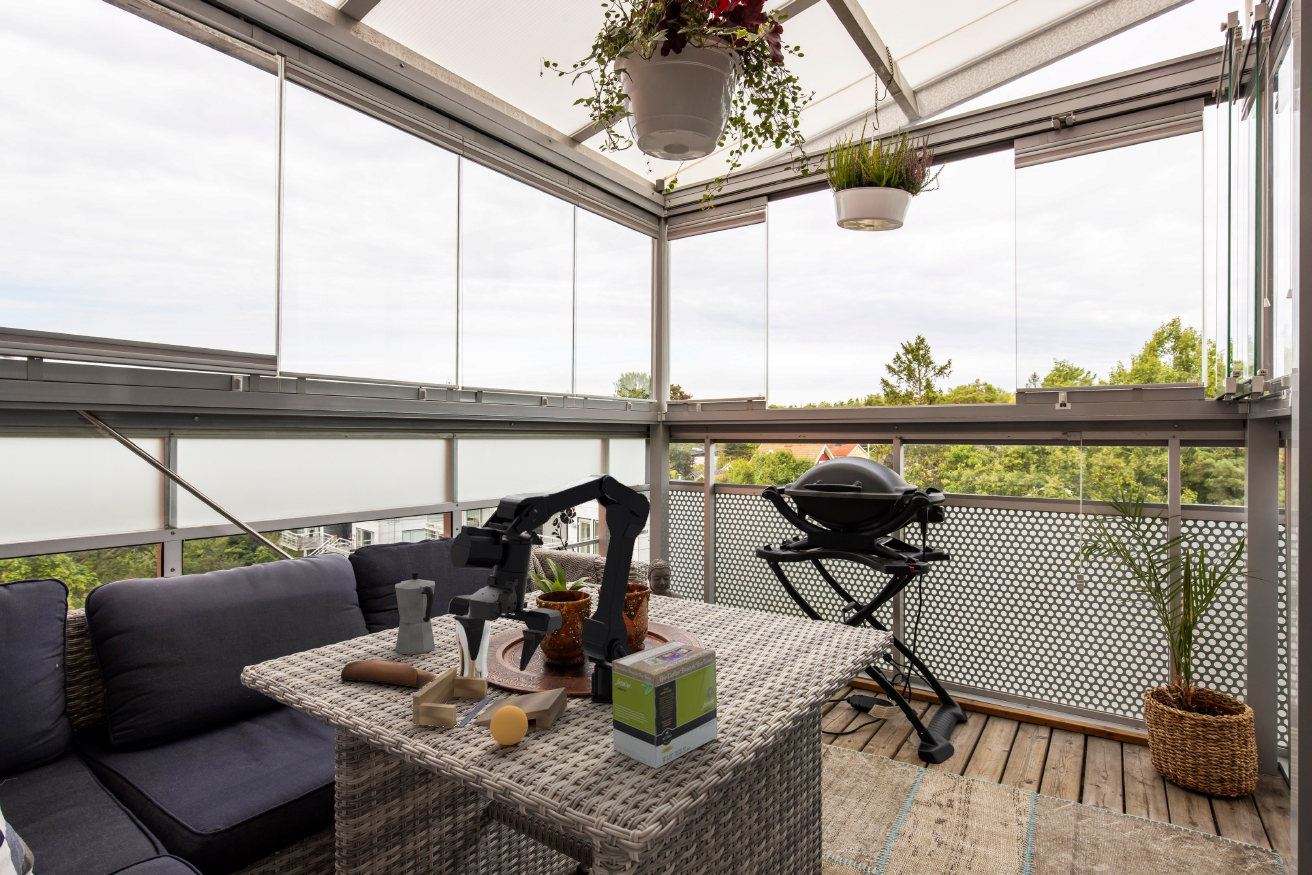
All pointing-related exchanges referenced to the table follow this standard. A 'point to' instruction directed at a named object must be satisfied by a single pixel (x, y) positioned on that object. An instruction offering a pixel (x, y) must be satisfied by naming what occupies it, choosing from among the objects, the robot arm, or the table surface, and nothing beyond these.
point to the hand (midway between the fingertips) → (497, 665)
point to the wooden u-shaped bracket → (447, 699)
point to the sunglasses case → (386, 673)
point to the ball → (509, 725)
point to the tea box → (664, 702)
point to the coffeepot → (415, 615)
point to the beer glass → (466, 664)
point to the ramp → (532, 707)
